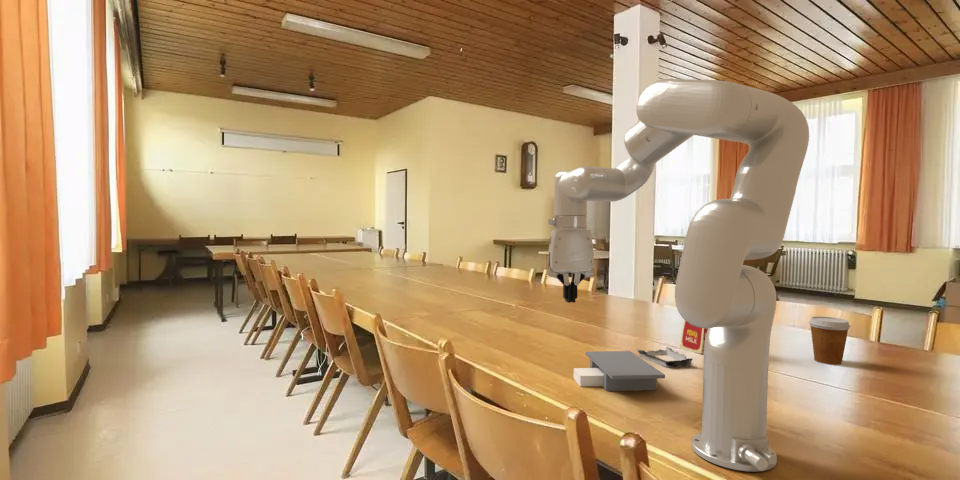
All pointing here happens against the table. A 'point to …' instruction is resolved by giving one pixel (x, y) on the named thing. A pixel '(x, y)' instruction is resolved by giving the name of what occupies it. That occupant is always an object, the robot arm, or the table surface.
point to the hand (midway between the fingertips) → (570, 301)
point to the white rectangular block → (589, 376)
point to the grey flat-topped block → (624, 370)
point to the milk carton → (693, 338)
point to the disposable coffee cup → (829, 339)
